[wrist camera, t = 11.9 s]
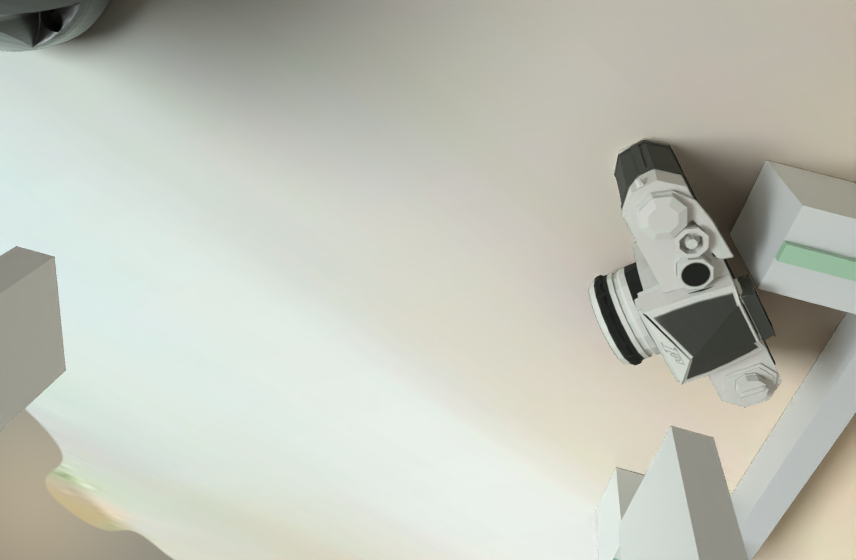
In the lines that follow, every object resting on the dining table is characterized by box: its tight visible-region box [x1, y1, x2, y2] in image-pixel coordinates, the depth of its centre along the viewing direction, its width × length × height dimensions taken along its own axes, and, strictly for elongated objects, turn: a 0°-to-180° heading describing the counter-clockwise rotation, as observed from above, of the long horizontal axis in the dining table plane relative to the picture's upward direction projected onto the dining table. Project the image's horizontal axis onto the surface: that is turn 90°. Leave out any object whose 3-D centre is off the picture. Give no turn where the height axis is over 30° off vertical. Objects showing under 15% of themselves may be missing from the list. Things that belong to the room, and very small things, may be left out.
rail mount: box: [595, 160, 856, 560], centre depth 44 cm, size 10×31×8 cm, turn 168°
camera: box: [589, 138, 782, 408], centre depth 39 cm, size 16×9×10 cm, turn 33°
